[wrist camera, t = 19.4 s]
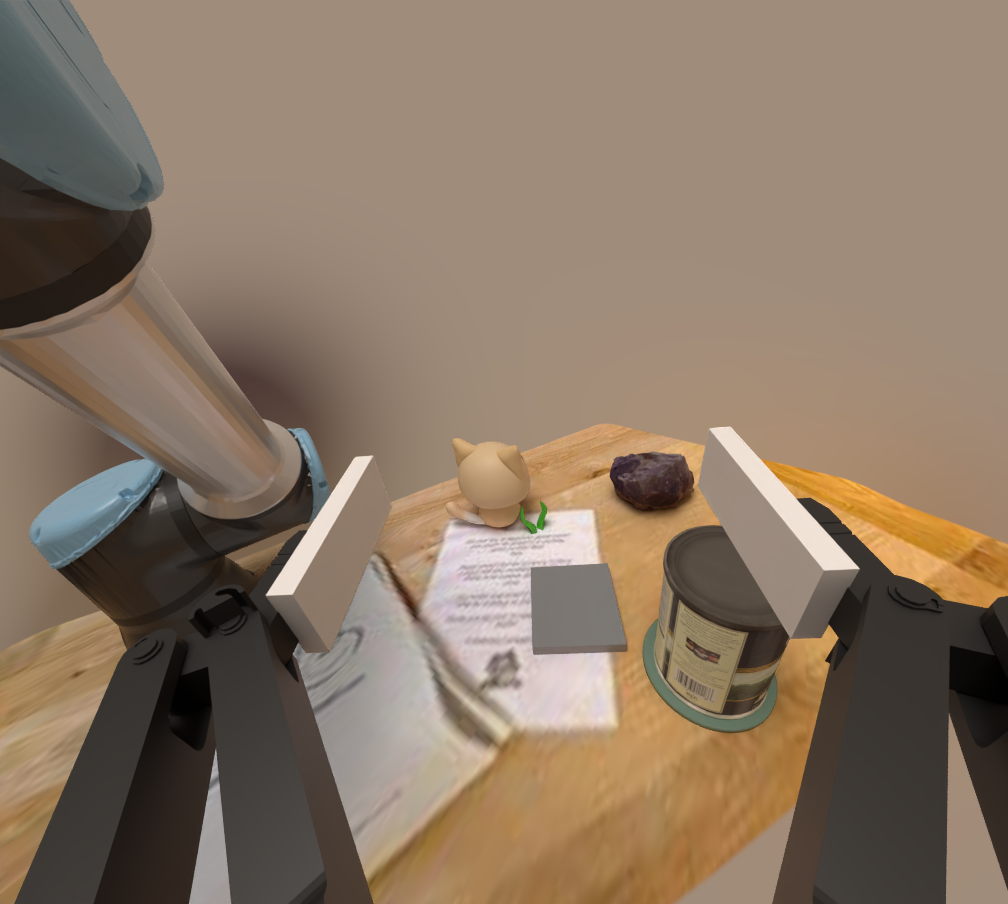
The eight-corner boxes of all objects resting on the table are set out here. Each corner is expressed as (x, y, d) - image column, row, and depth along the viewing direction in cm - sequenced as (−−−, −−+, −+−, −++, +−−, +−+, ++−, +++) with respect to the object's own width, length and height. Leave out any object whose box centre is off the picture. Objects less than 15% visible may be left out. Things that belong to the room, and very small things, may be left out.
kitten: (557, 506, 63) (551, 426, 55) (536, 551, 56) (526, 465, 48) (477, 492, 69) (461, 417, 61) (448, 530, 62) (426, 450, 54)
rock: (619, 486, 67) (612, 524, 60) (612, 443, 64) (603, 477, 56) (694, 484, 62) (697, 526, 54) (691, 438, 59) (694, 475, 51)
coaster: (622, 629, 44) (622, 626, 44) (718, 601, 45) (719, 598, 45) (686, 750, 34) (687, 747, 33) (808, 710, 35) (810, 707, 35)
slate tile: (626, 644, 41) (607, 563, 50) (532, 647, 42) (530, 567, 51) (626, 653, 42) (607, 572, 51) (533, 656, 43) (532, 576, 52)
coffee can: (752, 626, 42) (786, 529, 34) (781, 733, 33) (833, 637, 26) (650, 610, 45) (660, 519, 37) (654, 705, 36) (667, 612, 29)
